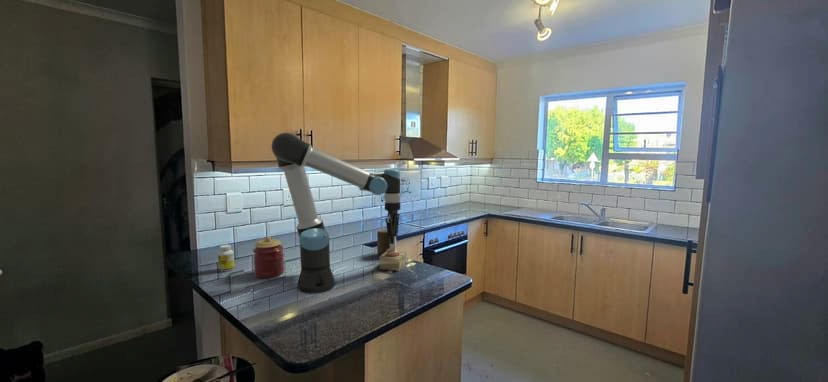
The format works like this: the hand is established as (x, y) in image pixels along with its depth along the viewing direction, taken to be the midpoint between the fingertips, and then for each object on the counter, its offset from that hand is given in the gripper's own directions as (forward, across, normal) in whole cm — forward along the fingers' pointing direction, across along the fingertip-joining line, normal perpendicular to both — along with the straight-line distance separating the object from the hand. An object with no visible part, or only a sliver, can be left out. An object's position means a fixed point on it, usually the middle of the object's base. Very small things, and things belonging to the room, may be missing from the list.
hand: (393, 249), depth 168 cm
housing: (+9, 0, 0) cm, 9 cm away
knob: (+8, 0, 0) cm, 8 cm away
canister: (+9, -26, +51) cm, 58 cm away
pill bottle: (+9, -28, +74) cm, 80 cm away
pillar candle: (+9, +16, +10) cm, 21 cm away
